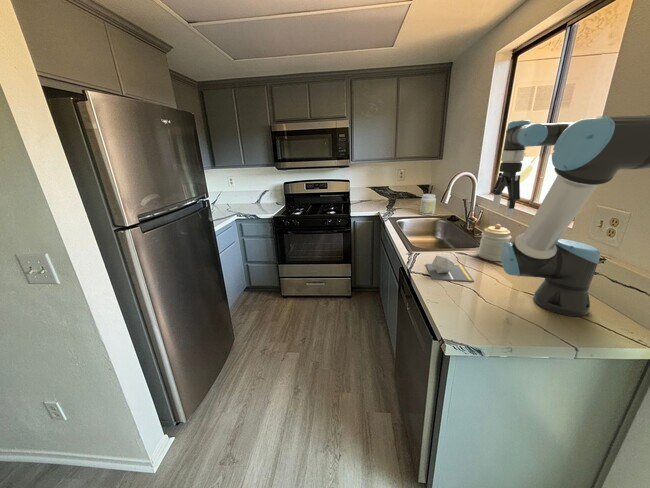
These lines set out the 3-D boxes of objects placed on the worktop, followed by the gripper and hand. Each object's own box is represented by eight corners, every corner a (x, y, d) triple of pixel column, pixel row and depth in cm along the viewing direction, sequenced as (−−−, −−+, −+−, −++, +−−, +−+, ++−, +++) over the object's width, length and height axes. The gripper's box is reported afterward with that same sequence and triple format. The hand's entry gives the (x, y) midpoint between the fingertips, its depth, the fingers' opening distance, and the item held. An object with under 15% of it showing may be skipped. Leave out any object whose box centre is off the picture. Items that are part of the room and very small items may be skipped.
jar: (512, 261, 132) (520, 227, 126) (486, 261, 132) (492, 227, 126) (497, 252, 144) (503, 220, 138) (472, 252, 145) (478, 220, 139)
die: (447, 268, 126) (435, 252, 126) (461, 266, 118) (448, 248, 118) (436, 278, 123) (424, 261, 123) (450, 276, 115) (438, 258, 115)
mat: (474, 282, 113) (474, 280, 113) (431, 279, 116) (431, 278, 116) (463, 266, 128) (463, 265, 127) (425, 264, 131) (425, 263, 131)
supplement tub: (424, 212, 237) (426, 193, 232) (437, 214, 229) (439, 194, 223) (416, 214, 230) (418, 194, 224) (429, 216, 221) (432, 196, 216)
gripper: (538, 163, 97) (525, 219, 104) (508, 160, 120) (499, 206, 127) (515, 163, 99) (504, 219, 106) (489, 160, 122) (482, 206, 129)
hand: (501, 212), depth 117 cm, fingers open, 13 cm apart
